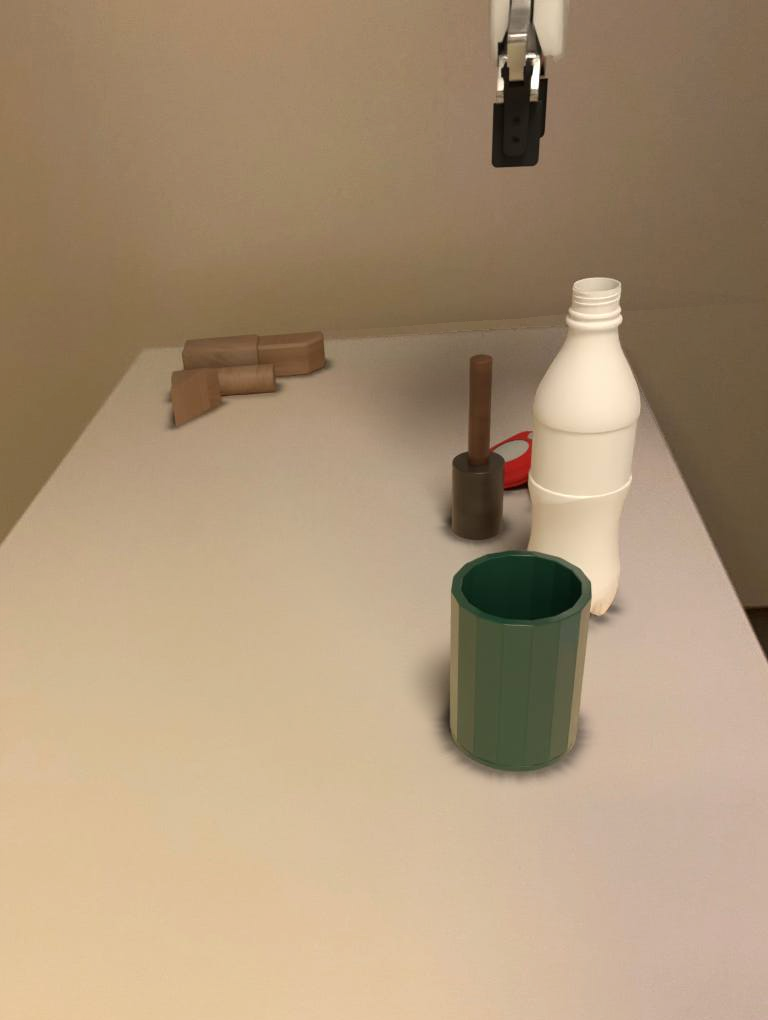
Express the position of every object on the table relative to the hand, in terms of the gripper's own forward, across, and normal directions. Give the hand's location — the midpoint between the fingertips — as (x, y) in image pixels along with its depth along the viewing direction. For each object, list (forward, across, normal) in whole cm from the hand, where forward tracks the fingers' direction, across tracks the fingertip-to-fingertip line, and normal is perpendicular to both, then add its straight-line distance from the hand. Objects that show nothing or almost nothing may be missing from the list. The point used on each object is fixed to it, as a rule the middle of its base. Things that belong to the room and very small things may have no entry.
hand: (519, 151), depth 74 cm
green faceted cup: (+30, -31, -3) cm, 43 cm away
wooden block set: (+31, +25, +31) cm, 51 cm away
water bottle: (+30, -15, -6) cm, 34 cm away
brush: (+30, -4, +2) cm, 31 cm away
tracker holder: (+30, +5, -2) cm, 31 cm away
